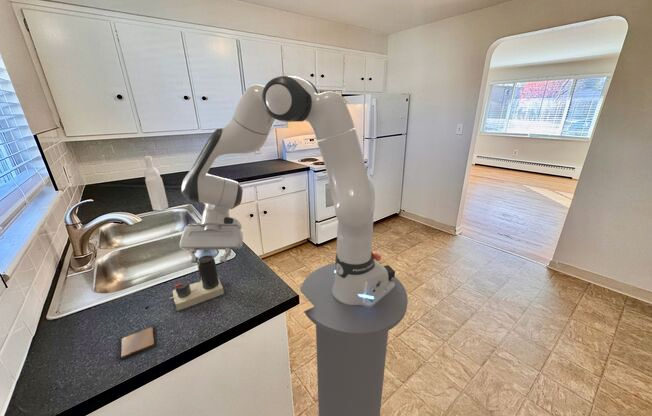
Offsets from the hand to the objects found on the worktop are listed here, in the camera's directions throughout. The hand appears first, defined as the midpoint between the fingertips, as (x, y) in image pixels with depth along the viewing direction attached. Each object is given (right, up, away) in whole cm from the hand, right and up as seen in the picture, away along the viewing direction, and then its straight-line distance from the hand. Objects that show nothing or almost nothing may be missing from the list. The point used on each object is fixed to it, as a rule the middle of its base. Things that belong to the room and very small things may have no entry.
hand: (208, 262), depth 88 cm
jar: (0, -8, +1) cm, 8 cm away
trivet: (-11, -18, -17) cm, 27 cm away
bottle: (-68, +21, +83) cm, 109 cm away
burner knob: (-7, -9, -3) cm, 12 cm away
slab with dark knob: (-3, -11, 0) cm, 11 cm away
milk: (-61, +17, +74) cm, 98 cm away
